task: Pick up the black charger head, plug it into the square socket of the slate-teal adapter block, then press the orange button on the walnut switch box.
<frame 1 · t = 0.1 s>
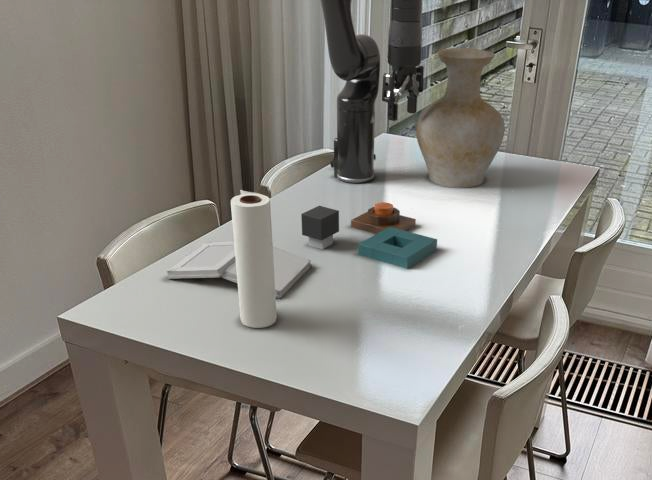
hand: (402, 116, 181), 17 cm above the table, tool pointing down, fingers open, 8 cm apart
vase: (456, 179, 197), on the table
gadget: (240, 273, 146), on the table
charger: (320, 244, 159), on the table
power button: (383, 209, 166), point 4 cm above the table, slide at 0.1 cm
paper towel roll: (259, 320, 131), on the table
switch box: (383, 226, 168), on the table
adapter: (397, 252, 156), on the table
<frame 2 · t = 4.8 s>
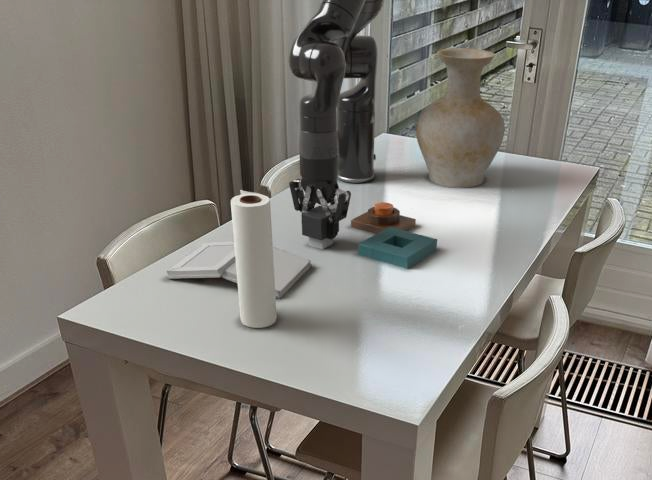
hand: (320, 234, 158), 2 cm above the table, tool pointing down, fingers closed on charger, 5 cm apart
charger: (320, 244, 159), on the table, touching gripper
everything else where it was.
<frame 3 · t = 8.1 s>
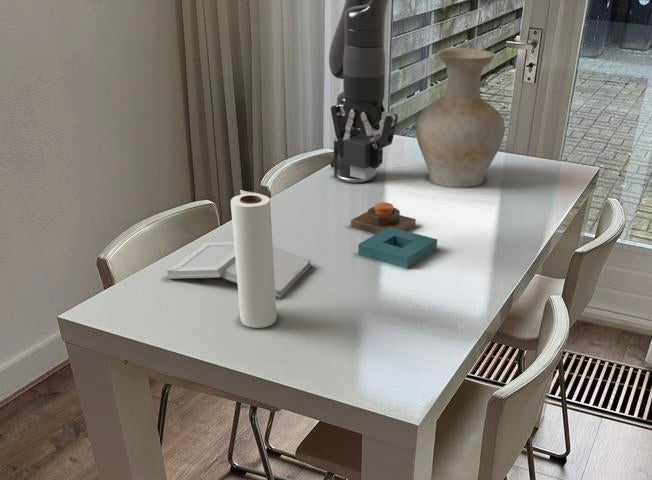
hand: (363, 164, 148), 17 cm above the table, tool pointing down, fingers closed on charger, 5 cm apart
charger: (363, 175, 149), point 15 cm above the table, touching gripper
everything else where it was.
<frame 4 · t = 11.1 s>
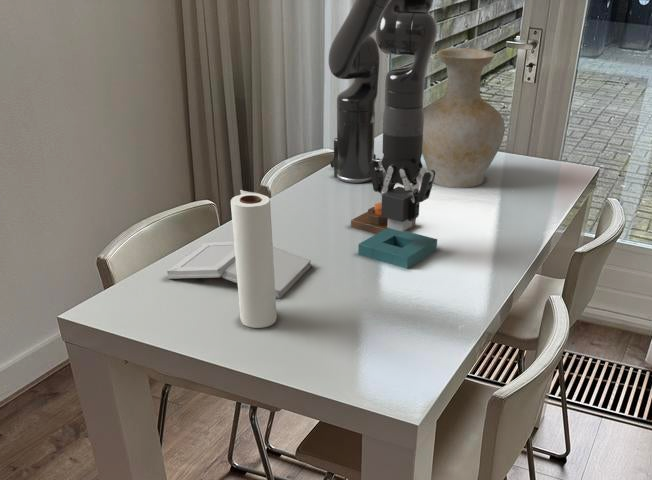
hand: (400, 216, 152), 8 cm above the table, tool pointing down, fingers closed on charger, 5 cm apart
charger: (399, 227, 153), point 5 cm above the table, touching gripper
everything else where it was.
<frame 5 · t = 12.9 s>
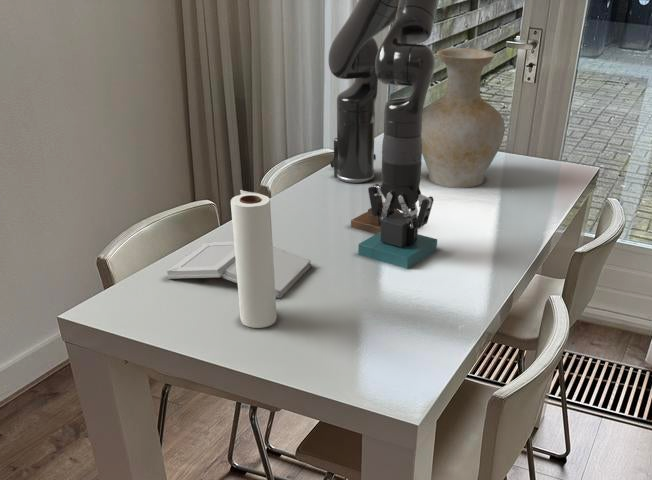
hand: (398, 241, 155), 2 cm above the table, tool pointing down, fingers closed on charger, 5 cm apart
charger: (398, 251, 156), resting in adapter, touching gripper
everything else where it was.
when the fingers open (3 cm above the table, at t = 17.7 s): charger stays where it is, resting in adapter.
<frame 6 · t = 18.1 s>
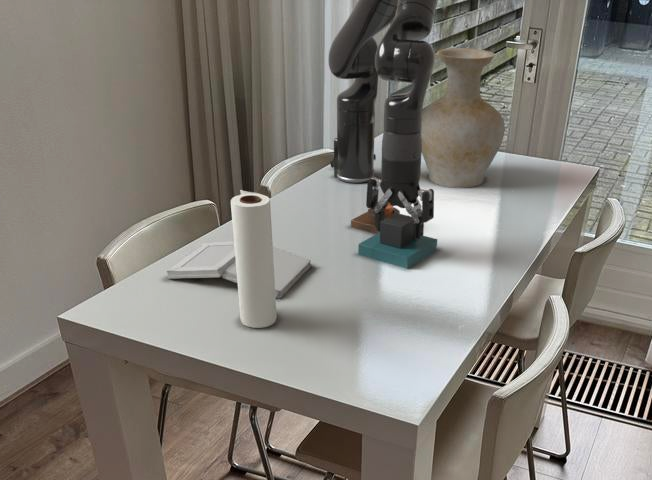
hand: (398, 234, 154), 4 cm above the table, tool pointing down, fingers open, 8 cm apart
charger: (397, 252, 156), resting in adapter
everything else where it was.
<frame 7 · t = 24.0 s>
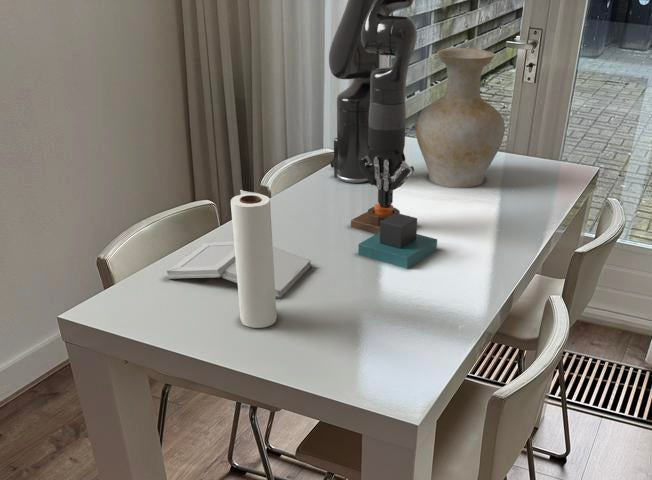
hand: (385, 206, 165), 5 cm above the table, tool pointing down, fingers closed
power button: (383, 210, 166), point 4 cm above the table, slide at 0.0 cm, touching gripper
everything else where it was.
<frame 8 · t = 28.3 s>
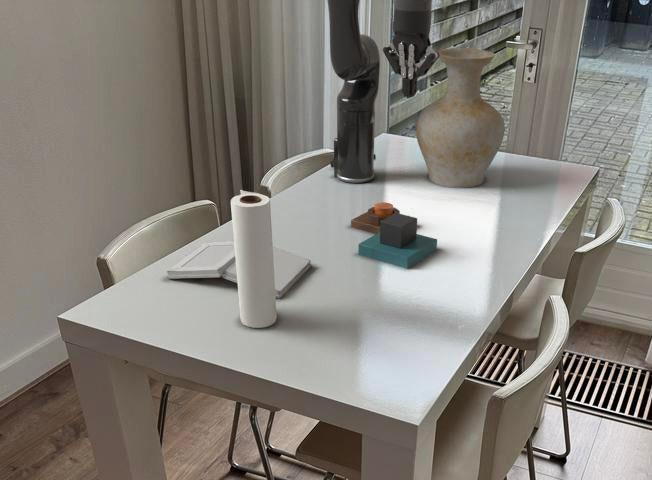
hand: (409, 96, 164), 25 cm above the table, tool pointing down, fingers closed
power button: (383, 209, 166), point 4 cm above the table, slide at 0.1 cm
everything else where it was.
at the end: charger 0.1 cm off-centre in the adapter, point 0.0 cm above the adapter's base; power button pushed in 1.2 cm at the most during the clip, back to where it started at the end; power button slide at 0.1 cm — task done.
